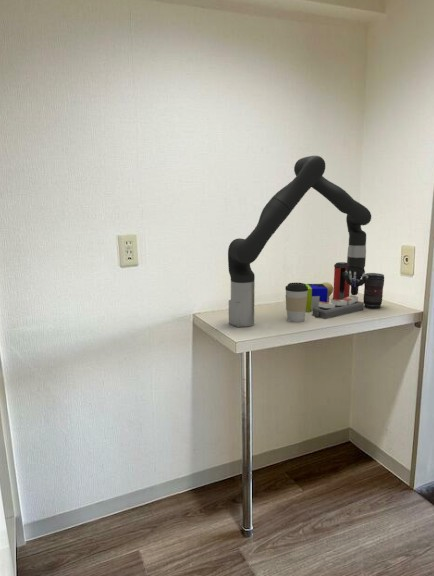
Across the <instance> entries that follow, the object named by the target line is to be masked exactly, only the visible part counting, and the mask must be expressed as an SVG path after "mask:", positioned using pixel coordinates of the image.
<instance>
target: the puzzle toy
mask: <svg viewBox="0 0 434 576" xmlns="http://www.w3.org/2000/svg"><path fill="white" fill-rule="evenodd" d="M305 284H306V286H307V287H308V292H307V304H306V310H305V312H313V308H314V307H318V305H319V302H320V301H321V302H327V292H328V288H326V287H325V286H324V285H323V284H322V283H305Z"/></svg>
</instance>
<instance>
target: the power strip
mask: <svg viewBox="0 0 434 576" xmlns="http://www.w3.org/2000/svg"><path fill="white" fill-rule="evenodd" d="M359 311H360V312H361V311H364V301H363V302H362V301H359V300H358V301H357V302H355V303H353V304H350V305H348V304H347V305H346V306H337V305H335V308H323V307H319V306H318V307H314V308H313V311H311V313H312V315H311V316H314V317H315V318H321V319H324V320H326V319H330V318H335V317H340V316H342V315H343V316H344V315H346V314H352V313H356V312H359ZM339 315H340V316H339Z"/></svg>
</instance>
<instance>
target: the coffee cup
mask: <svg viewBox="0 0 434 576" xmlns="http://www.w3.org/2000/svg"><path fill="white" fill-rule="evenodd" d="M306 284H307V283H303V282H289V283H288V284H287V285H285V287H284V290H285V309H286V320H287V321H289V322H294V323H296V322H297V323H298V322H300V323H302V322H304V321H305V318H306V311H305V310H306V304H307V292H308V287H307V286H306Z"/></svg>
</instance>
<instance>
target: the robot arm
mask: <svg viewBox="0 0 434 576" xmlns="http://www.w3.org/2000/svg"><path fill="white" fill-rule="evenodd" d="M293 171H294V172H293V173H294V174H295V177H294V178H293V179H292V180H291V181H290V182H289V183H288V184H286V185H285V186H283V187H282V188H281V189H280V190H278V191H277V192H276V193H275V194H274V195H273V196H271V198H270V199H269V200H268V202H267V203H266V204H265V206H264V207H263V209H262V211H261V213H260V216H259V219H258V222H257V224H256V226H255V228H254V229H253V230H252V231H251V232H250V234H249V235H248V236H247V237H246V238H239V237H238V238H235V239H233V240H232V241H231V242H230V244H229V245H228V249H227V262H228V263H227V266H228V273H229V276H230V277H229V278H230V299H229V300H228V324H229V325H232V326H234V327H237V328H240V327H242V328H243V327H251V326H253V325H255V288H256V287H255V276H256V275H255V273H254V272H253V270H252V268H251V264H253V262H255V261H256V260H257V258H258V257H259V256H260V254H261V252H262V251H263V249H264V248H265V246H266V245H267V243H268V242H269V240H270V239H271V238H272V236H273V235H274V234H275V233H276V231H277V230H278V229H279V228H280V227H281V225H282V224H283V223H284V221H285V220H286V219H287V218H288V217H289V216H290V215H291V213H292V212H293V210H294V209H295V208H296V206H297V205H298V204H299V203H300V201H301V200H302V199H303V198H304V196H305V194H306V193H307V192H308V191H309V190H310V189H313V190H315V191H316V192H318V193H319V194H320V195H321V196H322V197H324V198H325V199H326V200H327V201H329V203H331V204H332V205H333V206H334V207H335V208H336V209H337V210H338V211H339V212H340V213H343V214H344V215H346V218H345V221H346V226H347V231H348V245H347V246H348V247H347V253H346V256H347V257H346V259H347V260H346V263H347V266H348V268H347V271H345V272H343V273H342V274H343V276H344V278H345V280H346V282H347V284H349V285H350V296H351V295H352V296H357V295H358V294H359V287H360V286H361V287H362V286H364V283H365V282H366V281H367V280H368V278H369V276H368V275H366V270H365V267H366V258H367V233H366V231H364V230H363V229H362V226H366V225H369V224H370V222H371V221H372V213H371V211H370V210H369V208H367V207H366V206H365V205H363V204H362V203H360V202H358V201H357V200H356V199H354V198H353V197H352V196H351V195H350V194H349V193H348V192H347V191H346V190H345V189H343V188H342V187H340V186H339V185H337V184H335V183H333V182H332V181H330V180H329V179H327V178H325V176H323V175H324V174H325V171H326V161H325V160H324V158H323V157H322V156H319V155H310V156H305V157H301V158H299V159H298V160H297V161H296V162H295V164H294V167H293Z"/></svg>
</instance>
